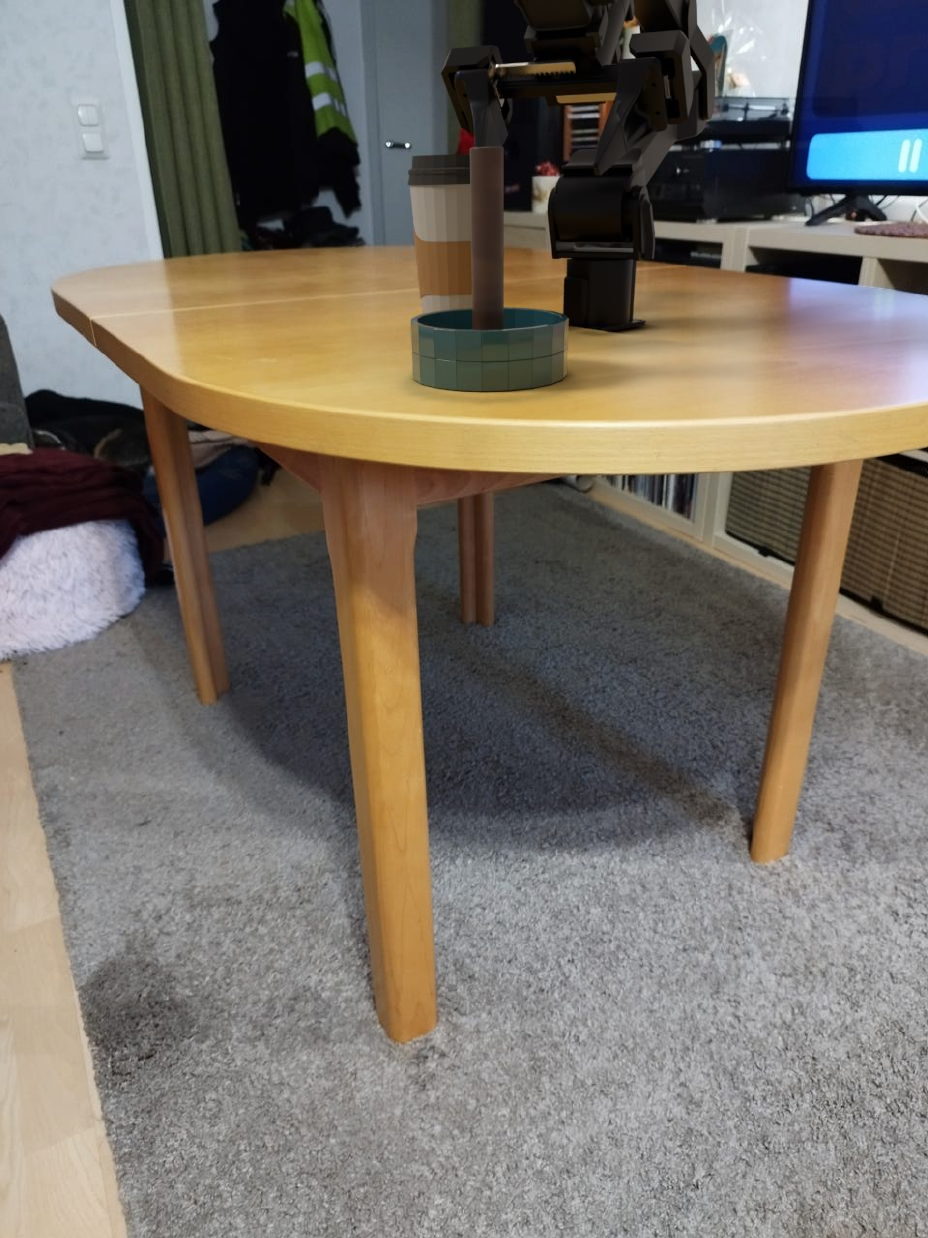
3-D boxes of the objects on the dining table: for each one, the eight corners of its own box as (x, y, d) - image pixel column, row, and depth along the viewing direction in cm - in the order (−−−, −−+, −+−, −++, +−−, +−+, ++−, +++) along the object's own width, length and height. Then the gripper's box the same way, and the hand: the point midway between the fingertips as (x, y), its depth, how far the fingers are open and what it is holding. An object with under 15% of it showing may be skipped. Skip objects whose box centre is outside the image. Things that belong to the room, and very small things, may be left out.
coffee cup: (493, 339, 81) (492, 153, 74) (404, 338, 82) (395, 155, 75) (507, 325, 88) (507, 154, 81) (425, 324, 89) (419, 156, 83)
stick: (492, 366, 67) (490, 147, 60) (531, 374, 64) (534, 145, 57) (445, 374, 65) (439, 148, 58) (484, 383, 61) (481, 145, 55)
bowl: (497, 362, 71) (497, 303, 69) (597, 383, 64) (601, 317, 62) (383, 382, 65) (380, 318, 63) (479, 408, 58) (478, 336, 56)
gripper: (448, -79, 66) (383, 83, 62) (701, -114, 59) (647, 66, 55) (490, 56, 76) (437, 203, 72) (711, 40, 69) (666, 202, 65)
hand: (536, 171), depth 66 cm, fingers open, 9 cm apart
